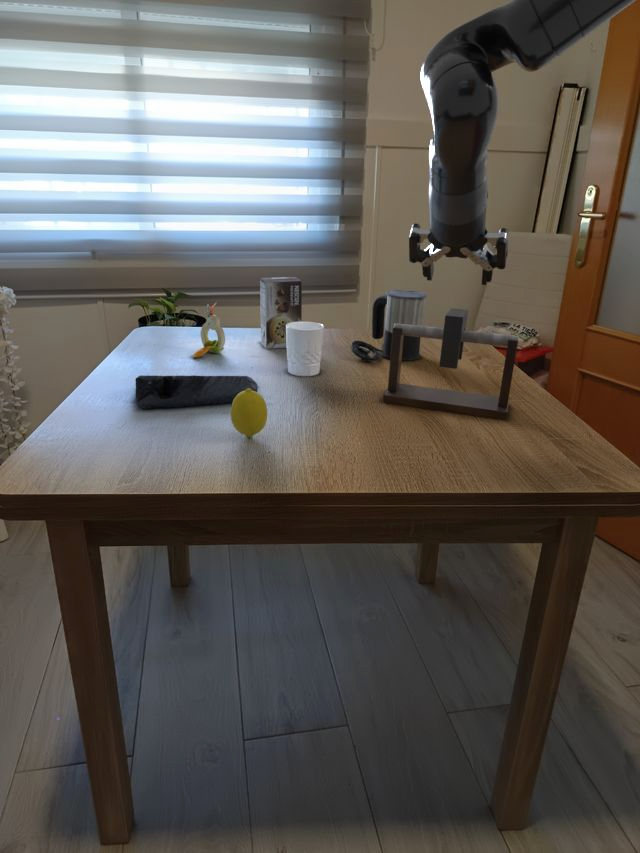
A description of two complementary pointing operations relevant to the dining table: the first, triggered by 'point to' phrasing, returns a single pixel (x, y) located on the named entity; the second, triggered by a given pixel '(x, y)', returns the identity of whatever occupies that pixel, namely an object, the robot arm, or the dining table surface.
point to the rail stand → (449, 398)
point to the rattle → (208, 345)
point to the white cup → (304, 347)
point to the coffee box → (279, 308)
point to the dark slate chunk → (189, 390)
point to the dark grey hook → (453, 338)
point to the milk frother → (399, 310)
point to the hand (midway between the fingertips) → (457, 278)
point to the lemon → (249, 412)
